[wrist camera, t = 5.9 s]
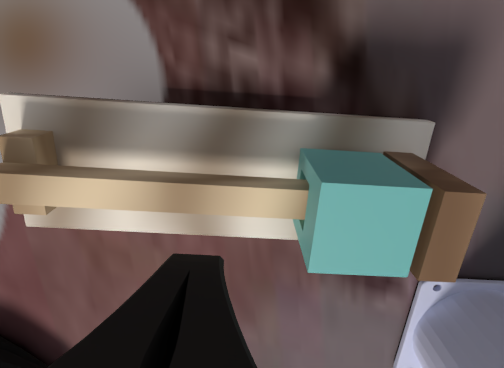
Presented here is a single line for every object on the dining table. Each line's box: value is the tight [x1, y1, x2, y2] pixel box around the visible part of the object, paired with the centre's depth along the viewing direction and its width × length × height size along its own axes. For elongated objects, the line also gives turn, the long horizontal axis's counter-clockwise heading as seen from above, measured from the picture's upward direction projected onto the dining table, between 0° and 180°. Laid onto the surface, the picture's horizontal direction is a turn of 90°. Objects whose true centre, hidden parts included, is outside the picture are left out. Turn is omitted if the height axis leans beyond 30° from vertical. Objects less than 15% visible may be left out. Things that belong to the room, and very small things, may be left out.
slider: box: [293, 148, 433, 277], centre depth 14 cm, size 4×4×5 cm
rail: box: [0, 93, 487, 283], centre depth 14 cm, size 21×7×6 cm, turn 86°
